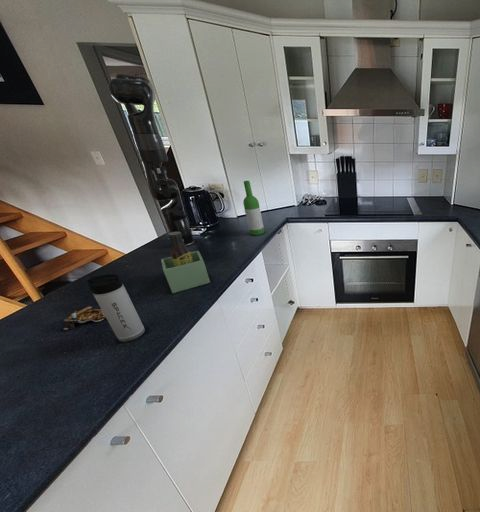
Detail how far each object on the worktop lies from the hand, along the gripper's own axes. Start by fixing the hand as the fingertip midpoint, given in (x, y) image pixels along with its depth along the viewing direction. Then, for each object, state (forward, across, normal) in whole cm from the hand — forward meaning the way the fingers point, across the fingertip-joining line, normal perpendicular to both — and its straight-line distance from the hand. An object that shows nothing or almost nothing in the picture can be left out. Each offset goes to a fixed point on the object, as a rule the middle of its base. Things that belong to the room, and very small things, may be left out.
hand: (166, 194), depth 101 cm
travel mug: (+34, +33, -20) cm, 51 cm away
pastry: (+34, +15, -30) cm, 48 cm away
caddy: (+34, +8, -2) cm, 35 cm away
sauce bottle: (+33, +8, -2) cm, 34 cm away
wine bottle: (+35, -31, +35) cm, 58 cm away
